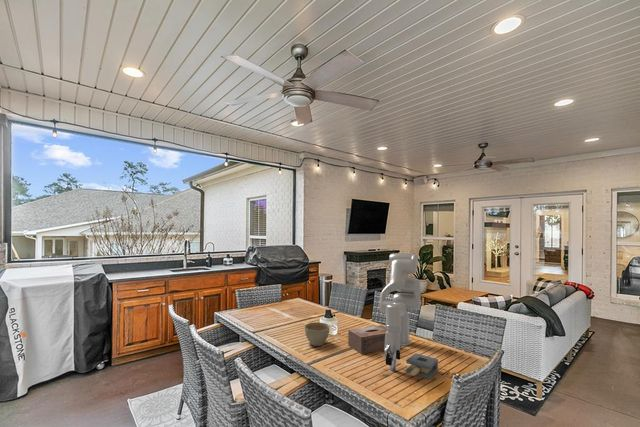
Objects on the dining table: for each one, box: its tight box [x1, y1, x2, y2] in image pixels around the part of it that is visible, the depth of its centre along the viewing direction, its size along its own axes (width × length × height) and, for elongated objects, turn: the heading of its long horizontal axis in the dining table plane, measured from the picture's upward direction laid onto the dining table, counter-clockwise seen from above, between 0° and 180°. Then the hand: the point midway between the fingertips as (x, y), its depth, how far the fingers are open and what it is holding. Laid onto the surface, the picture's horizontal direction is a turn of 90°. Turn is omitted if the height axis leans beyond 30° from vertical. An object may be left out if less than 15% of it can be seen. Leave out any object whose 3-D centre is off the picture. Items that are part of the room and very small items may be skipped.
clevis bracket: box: [405, 352, 439, 380], centre depth 159 cm, size 12×18×6 cm, turn 141°
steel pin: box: [389, 350, 397, 373], centre depth 162 cm, size 3×3×10 cm
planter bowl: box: [304, 321, 331, 347], centre depth 199 cm, size 16×16×11 cm
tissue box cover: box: [347, 324, 386, 355], centre depth 195 cm, size 26×14×10 cm, turn 116°
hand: (393, 361), depth 162 cm, fingers open, 9 cm apart
